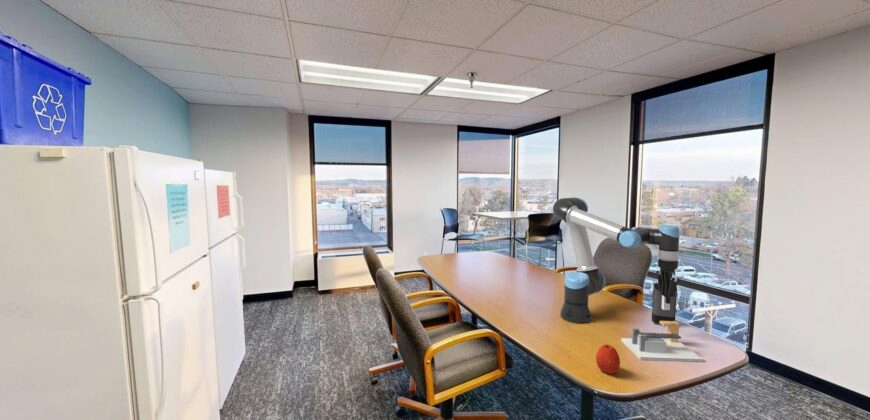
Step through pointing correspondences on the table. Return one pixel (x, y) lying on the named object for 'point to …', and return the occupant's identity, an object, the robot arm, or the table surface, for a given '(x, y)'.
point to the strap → (660, 335)
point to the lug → (671, 329)
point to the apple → (608, 359)
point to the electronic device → (657, 310)
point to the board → (668, 356)
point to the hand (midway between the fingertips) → (665, 309)
